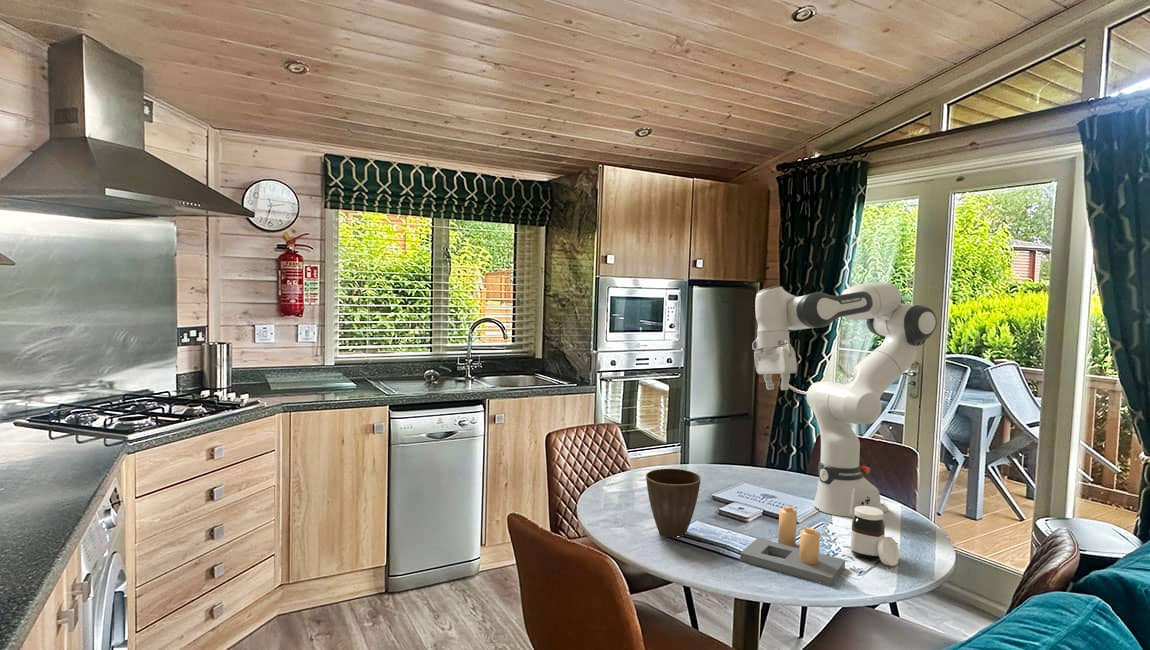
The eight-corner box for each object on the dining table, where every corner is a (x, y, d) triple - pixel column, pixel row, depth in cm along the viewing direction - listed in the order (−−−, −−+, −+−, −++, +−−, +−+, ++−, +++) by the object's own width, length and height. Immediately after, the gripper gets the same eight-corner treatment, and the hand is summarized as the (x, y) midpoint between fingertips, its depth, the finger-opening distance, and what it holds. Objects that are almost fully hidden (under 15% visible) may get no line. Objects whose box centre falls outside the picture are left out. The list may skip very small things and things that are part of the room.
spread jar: (853, 544, 173) (855, 502, 172) (900, 554, 167) (902, 510, 167) (847, 560, 163) (849, 515, 162) (897, 571, 157) (899, 524, 156)
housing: (740, 560, 162) (741, 521, 161) (757, 545, 171) (758, 508, 171) (831, 586, 149) (833, 543, 148) (844, 568, 158) (846, 528, 158)
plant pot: (669, 548, 169) (670, 487, 168) (633, 529, 181) (634, 473, 180) (710, 536, 177) (712, 479, 176) (673, 519, 189) (675, 465, 188)
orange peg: (788, 539, 176) (789, 503, 175) (799, 546, 171) (800, 509, 171) (774, 541, 174) (776, 505, 173) (785, 548, 170) (786, 510, 169)
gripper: (800, 339, 178) (804, 389, 177) (769, 343, 198) (772, 388, 197) (778, 340, 177) (783, 390, 176) (749, 344, 198) (753, 389, 196)
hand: (777, 389), depth 187 cm, fingers open, 8 cm apart
